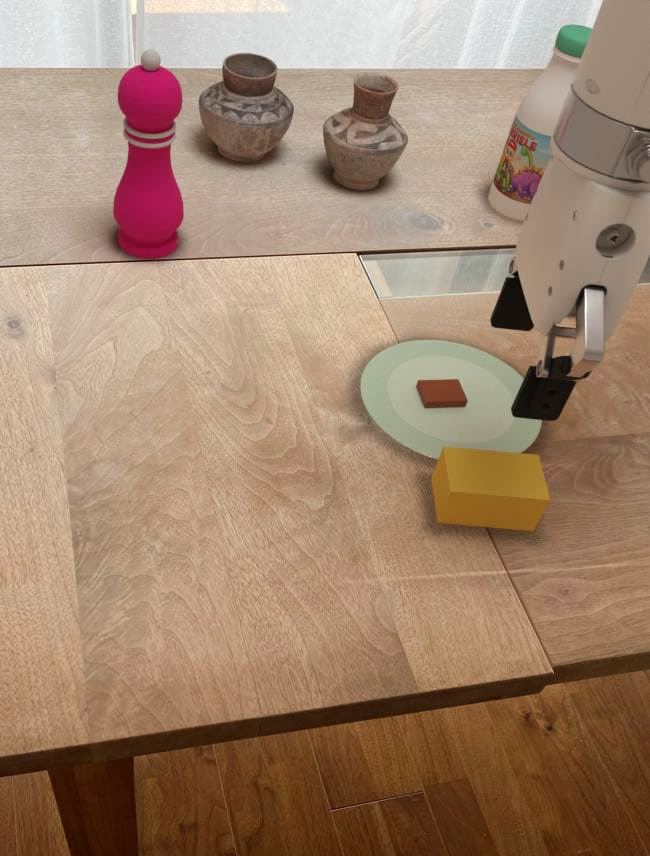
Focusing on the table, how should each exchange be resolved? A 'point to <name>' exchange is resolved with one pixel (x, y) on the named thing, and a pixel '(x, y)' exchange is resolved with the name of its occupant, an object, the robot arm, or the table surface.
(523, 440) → the plate
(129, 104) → the pepper mill
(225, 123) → the pottery
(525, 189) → the milk bottle
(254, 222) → the table surface
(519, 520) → the sponge
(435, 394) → the block
